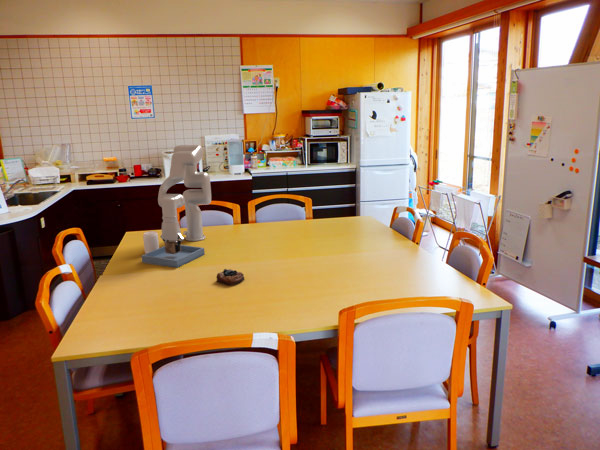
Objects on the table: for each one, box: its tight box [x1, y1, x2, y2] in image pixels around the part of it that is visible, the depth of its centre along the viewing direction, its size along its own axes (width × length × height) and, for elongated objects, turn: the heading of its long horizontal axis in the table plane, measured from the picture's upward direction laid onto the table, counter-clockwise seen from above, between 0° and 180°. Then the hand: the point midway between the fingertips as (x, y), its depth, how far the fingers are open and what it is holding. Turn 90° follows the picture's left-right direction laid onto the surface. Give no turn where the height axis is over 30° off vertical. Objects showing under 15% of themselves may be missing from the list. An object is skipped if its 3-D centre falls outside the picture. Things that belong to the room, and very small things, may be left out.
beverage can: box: [142, 230, 160, 254], centre depth 274 cm, size 8×8×12 cm
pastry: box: [215, 268, 245, 287], centre depth 229 cm, size 11×12×6 cm
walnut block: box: [164, 241, 182, 254], centre depth 263 cm, size 6×6×6 cm
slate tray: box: [140, 244, 206, 269], centre depth 264 cm, size 24×24×4 cm
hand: (173, 250), depth 263 cm, fingers closed on walnut block, 6 cm apart
